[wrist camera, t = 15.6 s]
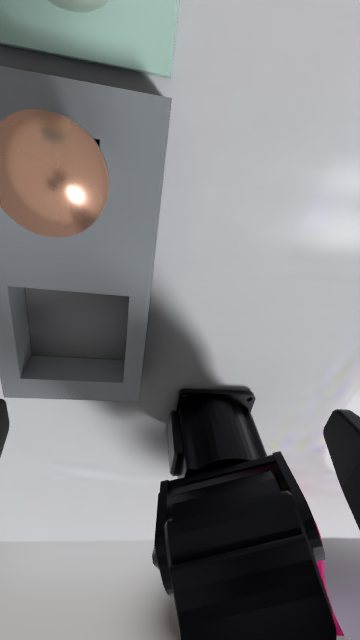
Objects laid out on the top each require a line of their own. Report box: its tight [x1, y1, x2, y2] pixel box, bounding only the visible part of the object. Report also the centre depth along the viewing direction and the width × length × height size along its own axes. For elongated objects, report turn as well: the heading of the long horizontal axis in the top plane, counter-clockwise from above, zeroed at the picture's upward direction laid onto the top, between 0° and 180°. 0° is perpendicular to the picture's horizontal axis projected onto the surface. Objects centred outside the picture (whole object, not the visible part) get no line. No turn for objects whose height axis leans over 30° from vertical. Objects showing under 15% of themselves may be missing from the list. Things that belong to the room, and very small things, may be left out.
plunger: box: [0, 109, 110, 238], centre depth 14 cm, size 4×4×6 cm
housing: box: [0, 66, 172, 402], centre depth 18 cm, size 9×18×2 cm, turn 172°
